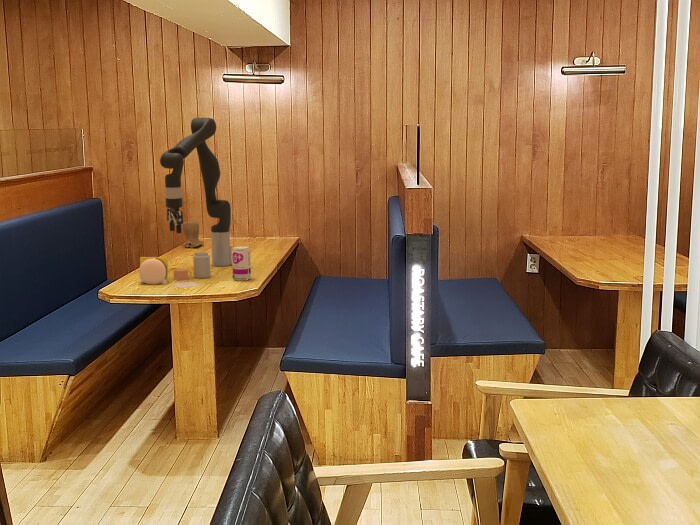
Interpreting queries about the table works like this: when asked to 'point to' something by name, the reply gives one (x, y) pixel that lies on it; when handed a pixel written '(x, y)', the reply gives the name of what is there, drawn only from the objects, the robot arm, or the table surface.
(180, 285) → the pad
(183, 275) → the block
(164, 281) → the hamburger
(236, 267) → the supplement can
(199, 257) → the can
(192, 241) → the brown boot
